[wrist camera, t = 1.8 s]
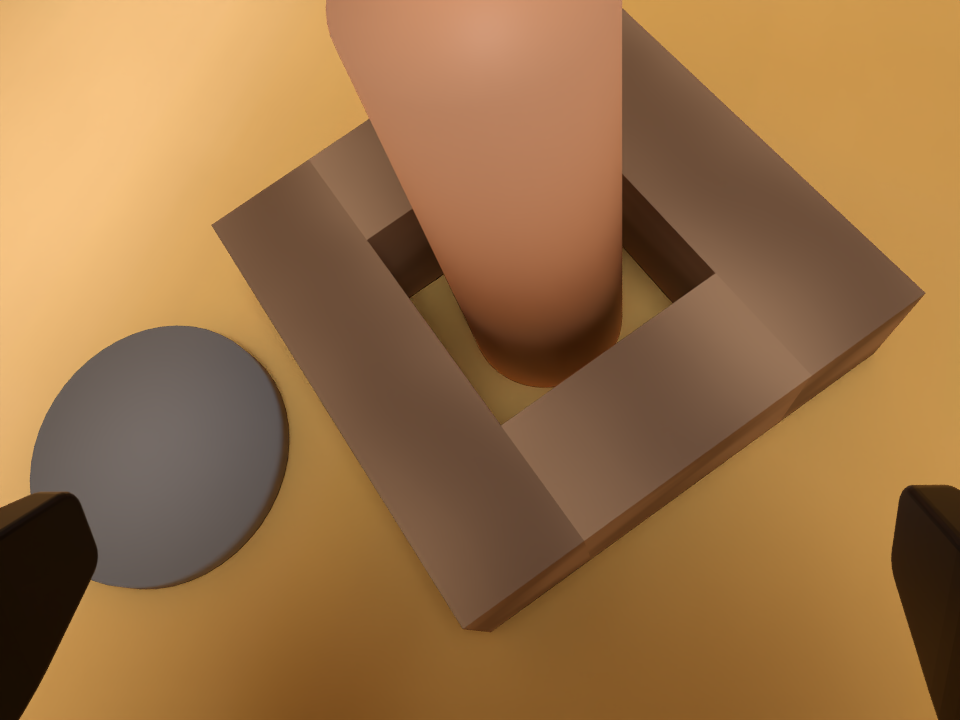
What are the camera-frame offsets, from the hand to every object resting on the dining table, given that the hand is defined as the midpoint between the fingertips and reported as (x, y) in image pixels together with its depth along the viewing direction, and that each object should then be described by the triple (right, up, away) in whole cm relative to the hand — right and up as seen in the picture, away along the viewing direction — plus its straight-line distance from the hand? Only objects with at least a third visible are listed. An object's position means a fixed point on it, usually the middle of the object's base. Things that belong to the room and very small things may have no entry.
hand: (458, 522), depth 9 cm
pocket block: (+2, +3, +15) cm, 16 cm away
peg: (+2, +3, +15) cm, 16 cm away
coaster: (-9, -1, +16) cm, 19 cm away
